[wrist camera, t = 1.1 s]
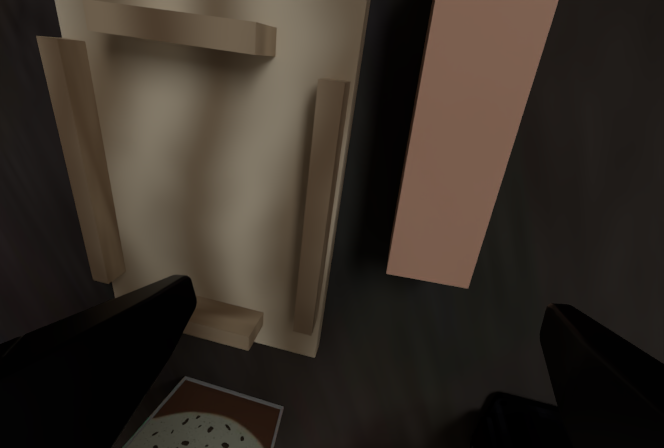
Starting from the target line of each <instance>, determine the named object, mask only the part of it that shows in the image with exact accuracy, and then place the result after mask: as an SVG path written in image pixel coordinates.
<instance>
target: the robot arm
mask: <svg viewBox="0 0 664 448" xmlns="http://www.w3.org/2000/svg"><path fill="white" fill-rule="evenodd" d="M196 305H197V298H196V294H195V291H194V287H193V283H192V280H191V278H190V277H189V276H187V275H177V274H176V275H172V276H169V277H167V278H164V279H162V280H159V281H157V282H154V283H152V284H149V285H147V286H144V287H142V288H139V289H137V290H134V291H132V292H129V293H127V294H124V295H122V296H119V297H117V298H114V299H112V300H109V301H107V302H104V303H102V304H99V305H97V306H94V307H92V308H89V309H87V310H84V311H82V312H79V313H77V314H74V315H72V316H69V317H67V318H64V319H62V320H59V321H57V322H55V323H52V324H50V325H47V326H45V327H42V328H40V329H37V330H35V331H32V332H30V333H27V334H25V335H24V336H23V337H22V336H20V337H17V338H14V339H12V340H10V341H7V342H5V343H2V344H0V448H112V446H113V445H114V443H115V442H116V440H117V438H118V437H119V435H120V434H121V432H122V431H123V429H124V428H125V426H126V425H127V423H128V421H129V420H130V418H131V417H132V415H133V414H134V412H135V411H136V409H137V408H138V406H139V404H140V403H141V401H142V400H143V398H144V397H145V395H146V394H147V392H148V390H149V389H150V387H151V386H152V384H153V383H154V381H155V380H156V378H157V377H158V375H159V373H160V372H161V370H162V369H163V367H164V366H165V364H166V363H167V361H168V359H169V358H170V356H171V354H172V352H173V351H174V349H175V347H176V345H177V343H178V341H179V339H180V337H181V335H182V333H183V332H184V330H185V328H186V326H187V324H188V322H189V320H190V318H191V316H192V314H193V312H194V310H195V308H196ZM540 342H541V346H542V350H543V354H544V357H545V361H546V365H547V369H548V372H549V376H550V380H551V384H552V387H553V391H554V395H555V398H556V402H557V405H558V407H555V406H551V405H547V404H543V403H539V402H536V401H532V400H528V399H524V398H520V397H516V396H512V395H509V394H505V393H498V394H496V395H495V396H494V398H493V400H492V402H491V404H490V406H489V408H488V410H487V412H486V414H485V415H484V416H482V417H481V419H480V421H479V423H478V425H477V427H476V429H475V431H474V433H473V435H472V441H471V443H470V448H664V364H663V363H661V362H660V361H658V360H657V359H655V358H654V357H652V356H650V355H649V354H647V353H646V352H644V351H642V350H641V349H639V348H638V347H636V346H635V345H633V344H631V343H630V342H628V341H627V340H625V339H623V338H622V337H620V336H619V335H617V334H616V333H614V332H612V331H611V330H609V329H608V328H606V327H605V326H603V325H601V324H600V323H598V322H597V321H595V320H593V319H592V318H590V317H589V316H587V315H586V314H584V313H582V312H581V311H579V310H578V309H576V308H575V307H573V306H571V305H567V304H554V303H551V304H549V305H548V306H547V308H546V311H545V315H544V319H543V323H542V327H541V330H540Z"/></svg>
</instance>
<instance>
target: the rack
mask: <svg viewBox="0 0 664 448" xmlns="http://www.w3.org/2000/svg"><path fill="white" fill-rule="evenodd" d="M55 4H56V9H57V14H58V19H59V24H60V29H61V34H62V38H56V37H44V36H36V37H37V42H38V46H39V50H40V54H41V59H42V63H43V67H44V72H45V76H46V80H47V85H48V89H49V93H50V97H51V102H52V106H53V110H54V115H55V119H56V123H57V127H58V132H59V136H60V140H61V145H62V149H63V153H64V157H65V162H66V166H67V170H68V175H69V179H70V183H71V187H72V192H73V196H74V200H75V205H76V209H77V213H78V217H79V222H80V226H81V230H82V235H83V239H84V243H85V248H86V252H87V256H88V260H89V265H90V269H91V273H92V278H93V280H95V281H99V282H103V283H107V284H109V283H110V282H112V285H113V290H114V295H115V298H117V297H119V296H122V295H124V294H127V293H129V292H132V291H134V290H137V289H139V288H142V287H144V286H147V285H149V284H152V283H154V282H157V281H159V280H162V279H164V278H167V277H169V276H172V275H176V274H177V275H187V276H189V277H190V278H191V280H192V283H193V287H194V291H195V294H196V298H197V305H196V308H195V310H194V312H193V314H192V316H191V318H190V320H189V322H188V324H187V326H186V328H185V330H184V332H183V333H184V334H188V335H192V336H195V337H199V338H203V339H207V340H210V341H214V342H218V343H221V344H225V345H229V346H233V347H236V348H240V349H244V350H247V351H249V349H250V347H251V346H252V344H253V342H257V343H260V344H264V345H268V346H272V347H275V348H279V349H283V350H287V351H291V352H294V353H298V354H302V355H306V356H309V357H313V358H315V356H316V353H317V350H318V347H319V341H320V335H321V328H322V321H323V315H324V308H325V301H326V295H327V288H328V281H329V274H330V268H331V261H332V254H333V248H334V241H335V234H336V228H337V221H338V214H339V208H340V201H341V194H342V188H343V181H344V174H345V167H346V161H347V154H348V147H349V141H350V134H351V127H352V121H353V114H354V107H355V101H356V94H357V87H358V81H359V74H360V67H361V60H362V54H363V47H364V40H365V34H366V27H367V20H368V14H369V7H370V0H55Z"/></svg>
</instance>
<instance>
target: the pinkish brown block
mask: <svg viewBox="0 0 664 448" xmlns="http://www.w3.org/2000/svg"><path fill="white" fill-rule="evenodd" d="M557 4H558V0H432V5H431V11H430V17H429V22H428V28H427V34H426V39H425V45H424V51H423V56H422V62H421V68H420V73H419V79H418V85H417V90H416V96H415V102H414V107H413V113H412V119H411V124H410V130H409V136H408V142H407V147H406V153H405V159H404V164H403V170H402V176H401V181H400V187H399V193H398V198H397V204H396V210H395V215H394V221H393V227H392V232H391V238H390V246H389V254H388V263H387V271H386V274H390V275H396V276H401V277H407V278H412V279H418V280H423V281H429V282H434V283H440V284H445V285H451V286H456V287H462V288H467V289H468V287H469V284H470V281H471V277H472V274H473V271H474V268H475V265H476V261H477V258H478V255H479V252H480V249H481V246H482V242H483V239H484V236H485V233H486V230H487V226H488V223H489V220H490V217H491V214H492V211H493V207H494V204H495V201H496V198H497V195H498V191H499V188H500V185H501V182H502V179H503V176H504V172H505V169H506V166H507V163H508V160H509V156H510V153H511V150H512V147H513V144H514V140H515V137H516V134H517V131H518V128H519V125H520V121H521V118H522V115H523V112H524V109H525V105H526V102H527V99H528V96H529V93H530V90H531V86H532V83H533V80H534V77H535V74H536V70H537V67H538V64H539V61H540V58H541V55H542V51H543V48H544V45H545V42H546V39H547V35H548V32H549V29H550V26H551V23H552V20H553V16H554V13H555V10H556V7H557Z"/></svg>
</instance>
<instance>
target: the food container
mask: <svg viewBox="0 0 664 448" xmlns="http://www.w3.org/2000/svg"><path fill="white" fill-rule="evenodd" d="M283 408H284V407H283V406H280V405H277V404H274V403H270V402H267V401H264V400H261V399H257V398H254V397H251V396H248V395H245V394H241V393H238V392H235V391H232V390H229V389H225V388H222V387H219V386H216V385H212V384H209V383H206V382H203V381H200V380H196V379H193V378H190V377H187V376H185V377H184V378H183V379H182V380H181V381H180V382H179V383H178V385H177V386H176V387H175V388H174V389H173V390H172V391H171V393H170V394H169V395H168V396H167V397H166V398H165V399H164V401H163V402H162V403H161V404H160V405H159V406H158V407H157V408H156V410H155V411H154V412H153V413H152V414H151V415H150V416H149V418H148V419H147V420H146V421H145V422H144V423H143V424H142V426H141V427H140V428H139V429H138V430H137V431H136V432H135V434H134V435H133V436H132V437H131V438H130V439H129V440H128V442H127V443H126V444H125V445H124V446H123V447H122V448H274V444H275V440H276V436H277V432H278V428H279V424H280V420H281V416H282V412H283Z"/></svg>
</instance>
